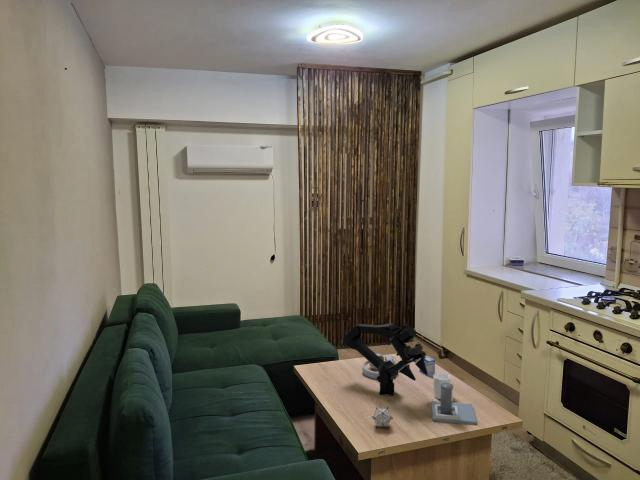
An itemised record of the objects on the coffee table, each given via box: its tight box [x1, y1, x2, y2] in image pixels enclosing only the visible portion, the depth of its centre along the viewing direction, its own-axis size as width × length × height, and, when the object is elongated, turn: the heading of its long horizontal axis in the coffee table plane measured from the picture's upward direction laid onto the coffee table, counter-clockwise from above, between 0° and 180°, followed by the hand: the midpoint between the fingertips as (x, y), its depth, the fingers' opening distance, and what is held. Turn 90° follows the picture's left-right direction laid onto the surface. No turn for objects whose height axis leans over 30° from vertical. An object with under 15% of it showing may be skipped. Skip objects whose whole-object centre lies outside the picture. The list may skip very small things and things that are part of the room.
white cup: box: [432, 372, 451, 400], centre depth 223 cm, size 8×8×10 cm
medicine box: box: [418, 354, 436, 378], centre depth 250 cm, size 8×4×9 cm, turn 25°
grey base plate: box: [430, 400, 478, 425], centre depth 207 cm, size 18×16×3 cm
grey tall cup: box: [440, 382, 454, 415], centre depth 204 cm, size 5×5×13 cm
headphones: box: [361, 353, 397, 380], centre depth 252 cm, size 18×8×20 cm
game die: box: [371, 406, 394, 429], centre depth 197 cm, size 9×8×10 cm
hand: (421, 377), depth 213 cm, fingers open, 9 cm apart
